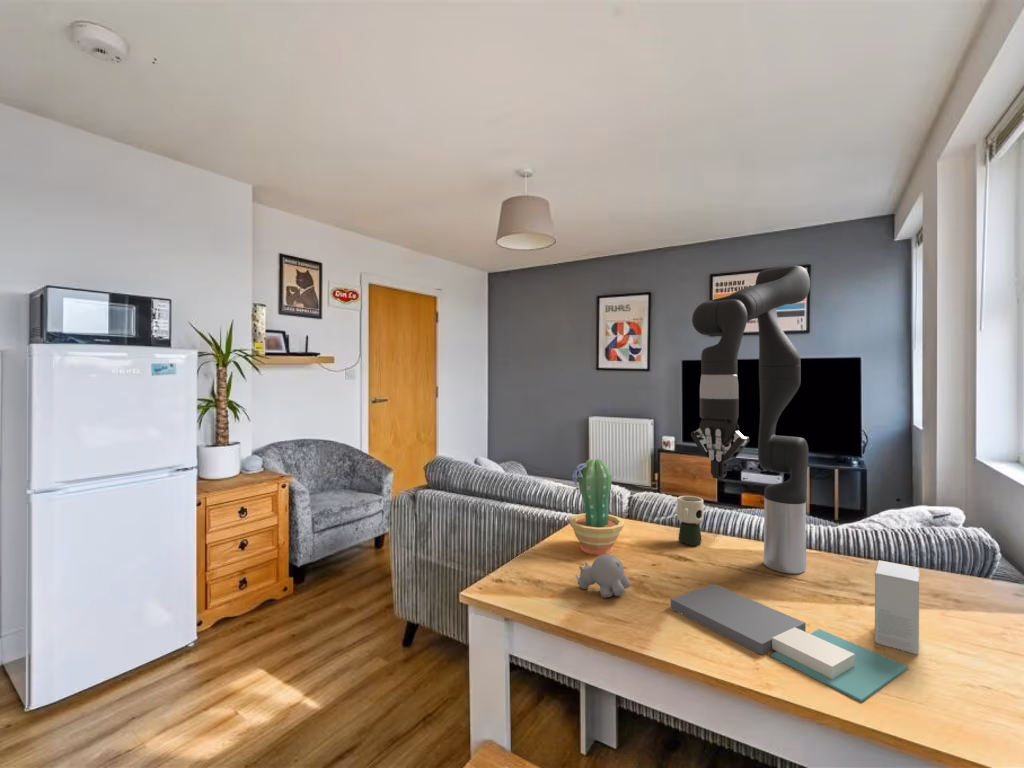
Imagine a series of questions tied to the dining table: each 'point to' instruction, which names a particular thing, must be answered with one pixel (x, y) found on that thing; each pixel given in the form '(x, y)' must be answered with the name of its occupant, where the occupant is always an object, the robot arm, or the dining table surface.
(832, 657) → the cream tile
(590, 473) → the potted cactus
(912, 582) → the small box
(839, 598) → the dining table surface
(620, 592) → the chubby cartoon animal
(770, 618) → the plate
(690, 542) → the character mug
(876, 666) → the teal mat
